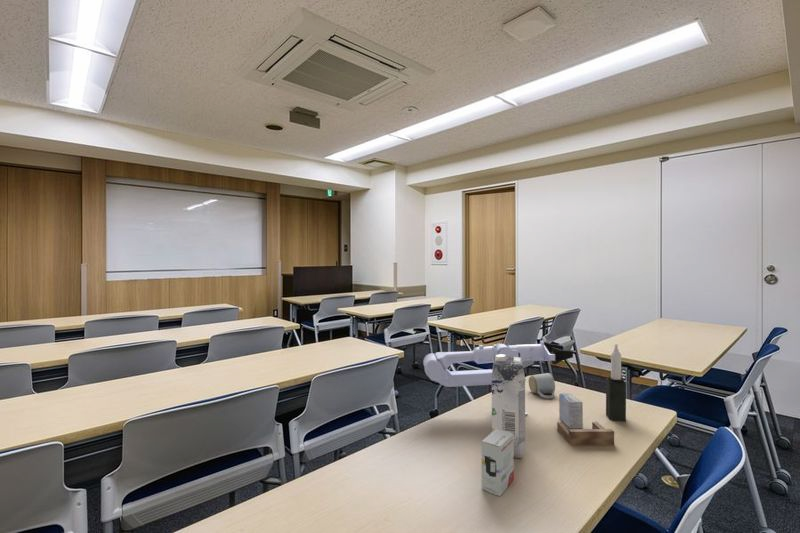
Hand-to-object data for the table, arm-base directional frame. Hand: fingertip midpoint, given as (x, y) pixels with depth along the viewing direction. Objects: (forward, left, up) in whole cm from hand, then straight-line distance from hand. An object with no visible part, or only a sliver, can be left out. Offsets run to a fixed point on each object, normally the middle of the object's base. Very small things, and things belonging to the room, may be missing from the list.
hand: (567, 351), depth 131 cm
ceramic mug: (-2, +16, -21) cm, 27 cm away
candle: (+14, -6, -21) cm, 26 cm away
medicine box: (-3, -10, -21) cm, 24 cm away
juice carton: (-28, -26, -21) cm, 44 cm away
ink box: (-35, -42, -21) cm, 59 cm away
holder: (-3, -19, -21) cm, 29 cm away
